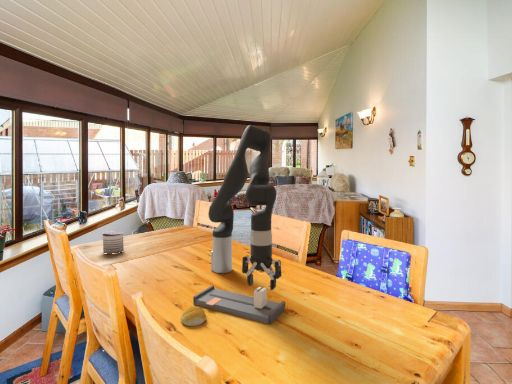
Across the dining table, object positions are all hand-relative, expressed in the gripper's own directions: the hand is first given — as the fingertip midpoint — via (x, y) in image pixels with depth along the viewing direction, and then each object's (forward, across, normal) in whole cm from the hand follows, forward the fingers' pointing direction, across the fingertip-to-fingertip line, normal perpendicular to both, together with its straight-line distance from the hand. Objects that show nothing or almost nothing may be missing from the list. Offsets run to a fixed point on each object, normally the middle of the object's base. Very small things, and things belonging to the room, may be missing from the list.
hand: (261, 287), depth 114 cm
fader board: (+9, +9, 0) cm, 13 cm away
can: (+8, +109, -26) cm, 113 cm away
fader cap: (+7, 0, 0) cm, 7 cm away
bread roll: (+10, +18, +15) cm, 25 cm away
